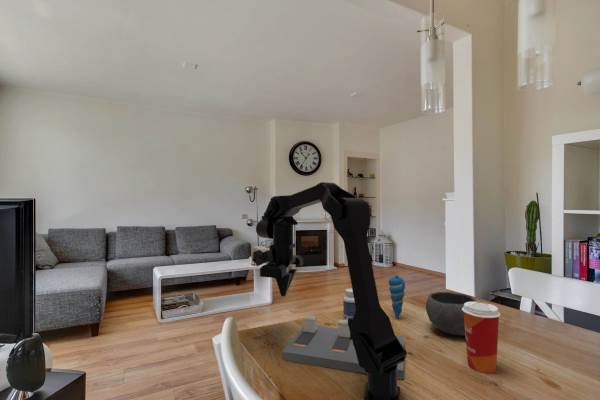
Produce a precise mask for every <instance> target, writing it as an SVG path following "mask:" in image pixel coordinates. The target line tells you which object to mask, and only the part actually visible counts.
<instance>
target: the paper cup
mask: <svg viewBox="0 0 600 400" xmlns="http://www.w3.org/2000/svg"><path fill="white" fill-rule="evenodd" d="M462 311H464V324H465V335H464V336H465V345H466V346H465V347H466V349H465V350H466V358H467V359H466V360H467V365H468V367H469V368H470V369H472V370H473V371H476V372H478V373H482V374H494V373H495V372H496V370H497V361H498V341H499V320H500V319H499V317H501V313H500V312H499V308H498V307H497V306H495V304H490V303H486V302H479V301H478V302H466V303H464V307H463V308H462Z"/></svg>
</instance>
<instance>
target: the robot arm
mask: <svg viewBox="0 0 600 400" xmlns="http://www.w3.org/2000/svg"><path fill="white" fill-rule="evenodd" d="M320 203H321V206H322V208H323V210H324V211H326V213H327V214H328V215H329V216H330V218H331V221H332V224H333V227H334V230H335V231H336V232H337V234H338V235H339V236H340V238H341V239H342V241H343V244H344V251H345V255H346V257H345V258H346V261H347V267H348V272H349V278H350V284H351V289H352V290H353V295H354V301H355V307H356V310H355V314H354V317H351V318H349V319H348V326H349V330H350V340H352V341H353V345H354V348H355V351H356V355H357V359H358V363H359V366H360V367H362V368H364V370H365V372H367V374H366V375H367V382H366V387H365V391H364V396H363V400H401V387H400V385H398V384H399V383H398V379H397V364H399V363H401V362H404V363H405V361H406V358H407V355H408V353H407V351H406V349H405V347H404V348H403V346H402V345H401V343H400V342H399V340H398V339H397V337H396V336H397V335H396V334H395V331H394V328H393V324H392V322H391V320H390V319H391V318H390V317H389V316H388V314H387V313H386V312H385V311H384V309H383V308H382V307H381V304H380V299H379V296H378V295H379V294H378V290H377V284H376V280H375V275H374V274H375V273H374V270H373V263H372V259H371V253H370V248H369V244H368V242H369V241H368V238H367V237H368V236H367V235H368V233H369V229H370V225H371V212H370V211H371V210H370V206H369V204H368V201H366V200H365V199H364V198H360V197H357V196H356V195H355V194H353V193H350V192H349V191H347V190H345V189H343V188H342V187H341V186H339V185H338V184H336V183H334V182H319V183H317V184H316V185H314V186H310V187H308V188H306V189H304V190H301V191H298V192H296V193H293V194H288V195H275V196H272V197H271V198H269V202H268V204H267V207H266V209H265V212H264V213H263V215H262V216H261V219H260V220H259V221H258V223H257V224H256V226H255V232H256V234H257V236H258V237H260V238H263V239H269V240H272V244H270V245H269V246H268V247H269V249H268V250H266V251H262V250H261V249H258V250H255V251H253V252H252V256H251V257H252V259H251V261H252V262H253V263H254V264H255V266H256V267H259V266H261V265H262V266H261V267H260V268H259V277H262V278H263V277H264V278H273V279H275V281H276V284H277V287H278V290H279V291H278V292H279V293H280V296H281V297H286V295H287V293H288V291H289V289H290V286H291V283H292V281H293V279H294V277H295V274H296V273H297V271H298V269H296V268H295V269H294V268H293V266H292V265H297V266H298V267H303V265H304V258H303V257H302V255H294V248H296V243H295V242H294V226H297V225H298V224H299V222H298V221H297V220H296V219H295V218H294V216H295V215H296V214H299V213H300V211H301V210H302V209H303V208H306V207H307V208H308V207H310V206H313V205H316V204H320ZM265 263H266V264H265ZM263 264H264V265H263ZM395 335H396V336H395Z"/></svg>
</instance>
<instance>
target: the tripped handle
mask: <svg viewBox="0 0 600 400" xmlns="http://www.w3.org/2000/svg"><path fill="white" fill-rule="evenodd" d="M317 318H318V317H317V316H311V315H305V316H304V317H303V318H302V320H303V321H302V322H303V323H302V327H303V332H310V333H315V331H316V330H317V326H318V323H317V321H318V320H317Z"/></svg>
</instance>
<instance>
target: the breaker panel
mask: <svg viewBox="0 0 600 400" xmlns="http://www.w3.org/2000/svg"><path fill="white" fill-rule="evenodd" d="M395 336H396V337H397V339H398V340H399V342H400V343H401V345H402V346H403V348H404V349H405V345H404V344H405V343H404V336H403V335H396V334H395ZM281 352H282V356H281V357H282V358H281V359H282V361H287V362H293V363H298V364H305V365H310V366H317V367H323V368H330V369H335V370H342V371H347V372H353V373H359V374H366V375H367V372H365V370H364V368H362V367H360V366H359V363H358V359H357V355H356V351H355V348H354V345H353V341H352V340H350V338H348V337H340V336H339V327H330V326H322V325H317V330H316V331H315V333H310V332H303V326H302V327H301V328H300V329H299V331H297V333H296V335H294V337H293V338H292V339H291V340H290V342H288V344H287V345H286V347H285V348H284V349H283V350H282V351H281ZM404 369H405V361H404V362H401V363H399V364H397V380H400V381H404V380H405V370H404Z"/></svg>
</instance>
